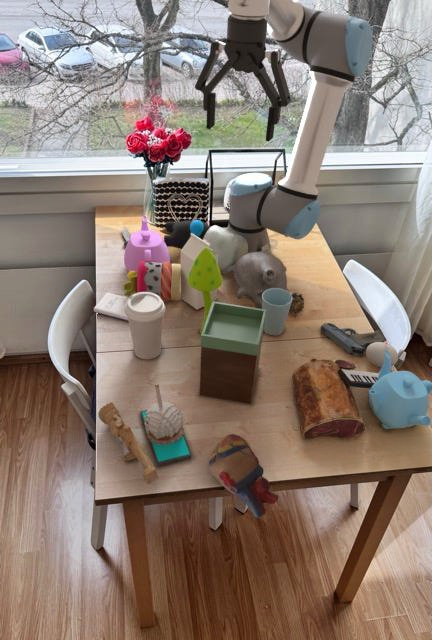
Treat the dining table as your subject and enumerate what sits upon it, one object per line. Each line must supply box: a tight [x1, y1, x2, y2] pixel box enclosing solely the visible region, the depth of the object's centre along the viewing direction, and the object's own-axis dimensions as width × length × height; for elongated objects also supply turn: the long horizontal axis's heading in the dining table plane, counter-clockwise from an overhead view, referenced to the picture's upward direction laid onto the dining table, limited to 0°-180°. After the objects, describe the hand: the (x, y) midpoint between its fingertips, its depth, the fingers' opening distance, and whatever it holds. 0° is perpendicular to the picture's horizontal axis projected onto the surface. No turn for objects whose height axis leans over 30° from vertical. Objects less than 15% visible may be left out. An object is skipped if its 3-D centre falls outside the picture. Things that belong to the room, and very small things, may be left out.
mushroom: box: [188, 248, 223, 334], centre depth 133 cm, size 8×8×25 cm
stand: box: [199, 328, 264, 405], centre depth 124 cm, size 12×12×15 cm
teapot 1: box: [123, 215, 171, 273], centre depth 158 cm, size 20×13×12 cm, turn 9°
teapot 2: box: [367, 350, 432, 430], centre depth 120 cm, size 15×14×11 cm
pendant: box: [288, 292, 305, 318], centre depth 148 cm, size 5×8×5 cm
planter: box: [203, 224, 248, 276], centre depth 159 cm, size 12×12×11 cm
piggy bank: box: [224, 252, 292, 309], centre depth 152 cm, size 18×16×14 cm
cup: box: [262, 288, 293, 336], centre depth 141 cm, size 8×8×10 cm
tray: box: [200, 301, 267, 356], centre depth 118 cm, size 12×12×3 cm
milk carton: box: [180, 233, 218, 310], centre depth 146 cm, size 7×7×19 cm
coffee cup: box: [124, 292, 167, 360], centre depth 131 cm, size 10×10×15 cm
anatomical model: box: [207, 433, 279, 519], centre depth 109 cm, size 9×13×15 cm
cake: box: [122, 261, 181, 302], centre depth 148 cm, size 10×11×15 cm
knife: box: [122, 226, 131, 247], centre depth 172 cm, size 17×1×5 cm
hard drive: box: [93, 292, 130, 322], centre depth 147 cm, size 2×8×12 cm
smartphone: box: [140, 409, 192, 467], centre depth 117 cm, size 7×1×15 cm
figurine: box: [98, 401, 159, 486], centre depth 111 cm, size 7×4×20 cm
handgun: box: [320, 322, 388, 356], centre depth 142 cm, size 2×14×12 cm
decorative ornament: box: [143, 382, 185, 446], centre depth 112 cm, size 8×8×15 cm
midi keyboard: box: [338, 368, 379, 390], centre depth 126 cm, size 18×1×5 cm
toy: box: [163, 219, 212, 250], centre depth 165 cm, size 9×11×15 cm
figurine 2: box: [365, 340, 399, 368], centre depth 134 cm, size 8×6×7 cm
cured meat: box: [291, 357, 367, 439], centre depth 125 cm, size 18×25×7 cm
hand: (239, 133), depth 117 cm, fingers open, 13 cm apart
